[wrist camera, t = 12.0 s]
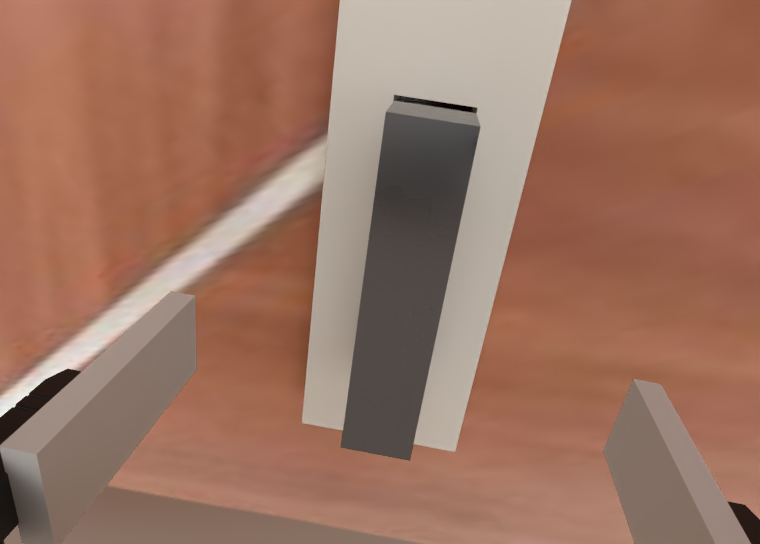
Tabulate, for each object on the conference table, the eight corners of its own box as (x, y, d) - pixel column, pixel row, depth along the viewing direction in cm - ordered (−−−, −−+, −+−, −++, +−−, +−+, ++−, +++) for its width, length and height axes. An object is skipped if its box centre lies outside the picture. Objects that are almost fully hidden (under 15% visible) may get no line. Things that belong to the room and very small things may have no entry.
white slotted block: (358, -44, 24) (344, -55, 20) (559, -15, 23) (577, -22, 20) (315, 386, 34) (301, 422, 31) (454, 412, 33) (454, 451, 30)
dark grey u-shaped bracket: (408, 83, 26) (385, 111, 17) (469, 93, 25) (480, 126, 16) (371, 328, 32) (340, 447, 22) (421, 337, 31) (409, 460, 22)
